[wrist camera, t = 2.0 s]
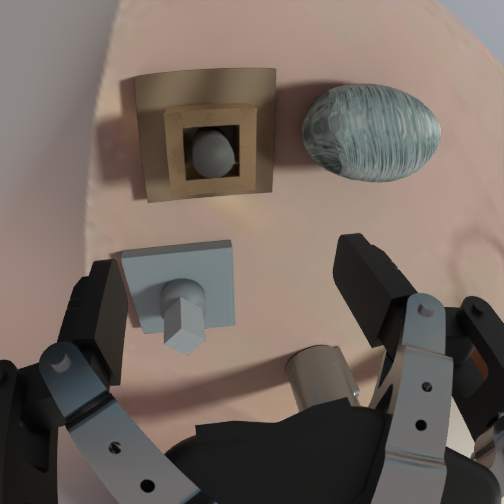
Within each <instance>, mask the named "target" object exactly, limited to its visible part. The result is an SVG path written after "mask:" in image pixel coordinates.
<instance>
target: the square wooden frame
mask: <svg viewBox="0 0 504 504" xmlns="http://www.w3.org/2000/svg"><path fill="white" fill-rule="evenodd" d="M164 121H165V134H166V146H167V158H168V168H169V178H170V188H171V197H177V196H187V195H198V194H209V193H221V192H234V191H248V190H255V183H256V121H257V108H256V107H255V106H253V105H252V104H250V103H220V104H203V105H189V106H178V107H168V108H166V110H165V113H164ZM220 125H234V164H233V166H232V168H231V169H230V170H229V172H227V173H226V174H225V175H223V176H221V177H218V178H207V177H204V176H202V175H201V174H199V173H198V172H197V170H196V169H195V167H187V168H186V160H185V146H184V130H183V128H192V127H205V126H220Z"/></svg>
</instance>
